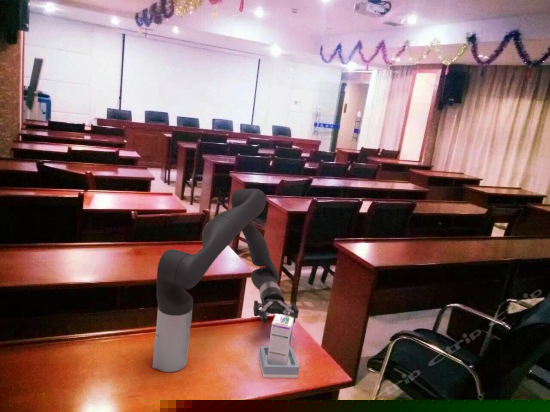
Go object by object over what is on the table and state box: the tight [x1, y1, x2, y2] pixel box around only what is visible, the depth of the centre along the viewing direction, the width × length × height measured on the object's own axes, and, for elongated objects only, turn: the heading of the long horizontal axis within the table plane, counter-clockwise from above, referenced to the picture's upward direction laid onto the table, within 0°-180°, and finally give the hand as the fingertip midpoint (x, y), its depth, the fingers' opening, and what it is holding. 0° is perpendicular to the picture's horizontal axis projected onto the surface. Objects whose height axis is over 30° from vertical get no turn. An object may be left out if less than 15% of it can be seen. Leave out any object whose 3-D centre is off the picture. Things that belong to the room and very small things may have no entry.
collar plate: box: [258, 345, 300, 379], centre depth 118 cm, size 10×10×4 cm
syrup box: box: [267, 314, 294, 365], centre depth 117 cm, size 6×6×14 cm
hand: (279, 321), depth 122 cm, fingers open, 8 cm apart
